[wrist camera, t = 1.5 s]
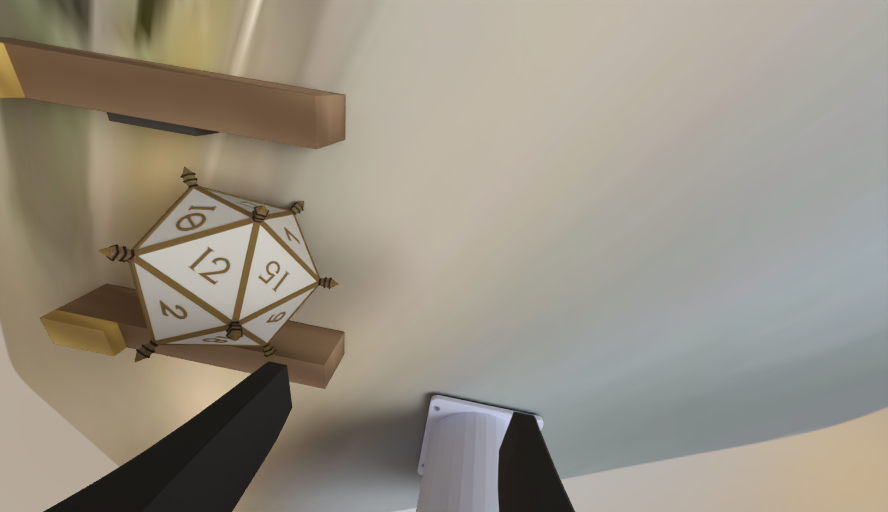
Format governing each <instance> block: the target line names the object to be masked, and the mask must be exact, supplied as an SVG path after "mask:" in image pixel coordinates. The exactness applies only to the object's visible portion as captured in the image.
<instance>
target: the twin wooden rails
mask: <svg viewBox="0 0 888 512" xmlns="http://www.w3.org/2000/svg"><path fill="white" fill-rule="evenodd" d="M0 98H31V99H37V100H42V101H48V102H53V103H59V104H65V105H70V106H76V107H82V108H87V109H93V110H99V111H104V112H107V114H108V118H109V121H114V122H120V123H125V124H131V125H137V126H142V127H148V128H154V129H159V130H165V131H170V132H176V133H182V134H187V135H193V136H200V135H207V134H213V133H219V132H223V133H229V134H234V135H240V136H246V137H251V138H257V139H262V140H268V141H274V142H279V143H285V144H291V145H296V146H302V147H308V148H313V149H319V148H322V147H324V146H327V145H330V144H333V143H336V142H339V141H342V140H345V95H344V94H338V93H332V92H326V91H320V90H314V89H308V88H302V87H296V86H290V85H284V84H278V83H272V82H267V81H261V80H255V79H249V78H243V77H237V76H231V75H225V74H219V73H213V72H207V71H201V70H195V69H189V68H184V67H178V66H172V65H166V64H160V63H154V62H148V61H142V60H136V59H130V58H124V57H118V56H112V55H106V54H101V53H95V52H89V51H83V50H77V49H71V48H65V47H59V46H53V45H47V44H41V43H35V42H29V41H23V40H18V39H12V38H4V37H0ZM40 319H41V321H42V323H43V325H44V327H45V329H46V330H47V332H48V334H49V336H50V338H51V340H52V342H53V343H54V344H59V345H64V346H68V347H73V348H78V349H82V350H87V351H92V352H96V353H101V354H106V355H111V356H115V355H117V354H118V353H119V352H121V351H122V350H124V349H125V348H127V347H128V348H133V349H138V350H139V349H140V348H141V347H142V346H141V345H145V344H147V343H149V342H150V340H151V339H150V336H149V332H148V329H147V325H146V322H145V318H144V315H143V311H142V307H141V304H140V300H139V297H138V293H137V290H133V289H128V288H123V287H118V286H113V285H109V284H106V285H104V286H102V287H100V288H98V289H96V290H94V291H92V292H90V293H88V294H86V295H84V296H82V297H80V298H78V299H76V300H74V301H72V302H70V303H68V304H66V305H64V306H62V307H60V308H58V309H56V310H54V311H52V312H50V313H48V314H46V315H44V316H42V317H40ZM270 345H271V346H274V348H273V349H274V350H276V351H275V353H274V358H273V360H271V359H270V358H268V357H265V356H264V355H265V354H264V352H263V346H186V345H158V346H157V347H156V349H155V352H154V353H157V354H162V355H166V356H171V357H176V358H181V359H185V360H190V361H195V362H200V363H204V364H209V365H214V366H219V367H223V368H228V369H233V370H238V371H242V372H247V373H253V372H255V371H256V370H257V369H259V368H260V367H261V366H262V365H264V364H265V363H267V362H268V361H270V362H275V363H280V364H284V365H287V368H288V376H289V381H290V382H295V383H299V384H304V385H309V386H314V387H318V388H323V389H325V388H326V386H327V385H328V383H329V381H330V379H331V377H332V375H333V374H334V372H335V370H336V368H337V366H338V365H339V363H340V361H341V359H342V357H343V356H344V332H341V331H336V330H331V329H326V328H321V327H316V326H311V325H306V324H301V323H296V322H292V321H288V322H287V323H286V324H285V325H284V326H283V327H282V329H281V330H280V331H279V332H278V333H277V334H276V336H275V337H274V338H273V339H272V340H271V341H270Z"/></svg>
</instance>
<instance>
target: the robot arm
mask: <svg viewBox="0 0 888 512" xmlns="http://www.w3.org/2000/svg"><path fill="white" fill-rule="evenodd" d="M436 406H437V407H436ZM291 409H292V401H291V393H290V385H289V376H288V368H287V365H284V364H280V363H275V362H270V361H268V362H267V363H265V364H264V365H262V366H261V367H260V368H259V369H257V370H256V371H255V372H253V373H252V374H251V375H249V376H248V377H247V378H246V379H244V380H243V381H242V382H240V383H239V384H238V385H236V386H235V387H234V388H232V389H231V390H230V391H229V392H227V393H226V394H225V395H223V396H222V397H221V398H219V399H218V400H217V401H215V402H214V403H212V404H211V405H210V406H208V407H207V408H206V409H204V410H203V411H202V412H200V413H199V414H197V415H196V416H195V417H193V418H192V419H191V420H189V421H188V422H186V423H185V424H184V425H182V426H181V427H179V428H178V429H176V430H175V431H173V432H172V433H170V434H169V435H168V436H166V437H165V438H163V439H162V440H160V441H159V442H157V443H156V444H154V445H153V446H151V447H150V448H148V449H147V450H145V451H144V452H142V453H141V454H139V455H138V456H136V457H135V458H133V459H131V460H130V461H128V462H127V463H125V464H124V465H122V466H120V467H119V468H117V469H116V470H114V471H112V472H111V473H109V474H107V475H106V476H104V477H102V478H101V479H99V480H98V481H96V482H94V483H93V484H91V485H89V486H87V487H86V488H84V489H82V490H80V491H79V492H77V493H75V494H74V495H72V496H70V497H69V498H67V499H65V500H63V501H61V502H60V503H58V504H56V505H55V506H53V507H51V508H49V509H47V510H46V511H44V512H232V511H233V509H234V508H235V506H236V504H237V503H238V501H239V500H240V498H241V496H242V495H243V493H244V492H245V490H246V488H247V487H248V485H249V484H250V482H251V480H252V479H253V477H254V476H255V474H256V472H257V471H258V469H259V468H260V466H261V464H262V463H263V461H264V460H265V458H266V456H267V455H268V453H269V451H270V450H271V448H272V447H273V445H274V443H275V442H276V440H277V438H278V436H279V434H280V432H281V430H282V428H283V426H284V424H285V422H286V419H287V417H288V415H289V413H290V411H291ZM542 427H543V420H542V418H541V417H540V416H537V415H532V414H527V413H522V412H517V411H513V410H508V409H503V408H498V407H493V406H489V405H484V404H479V403H474V402H469V401H465V400H460V399H455V398H450V397H445V396H441V395H434V396H432V397H431V401H430V406H429V411H428V417H427V422H426V428H425V433H424V438H423V444H422V449H421V454H420V460H419V465H418V474H419V475H421V476H422V481H421V486H420V492H419V498H418V503H417V509H416V512H575V511H574V509H573V507H572V504H571V502H570V500H569V498H568V495H567V493H566V491H565V489H564V487H563V484H562V482H561V480H560V478H559V475H558V473H557V471H556V468H555V466H554V464H553V461H552V459H551V456H550V454H549V451H548V449H547V446H546V444H545V441H544V439H543V436H542V433H541V429H542Z"/></svg>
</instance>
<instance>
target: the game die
mask: <svg viewBox="0 0 888 512" xmlns="http://www.w3.org/2000/svg"><path fill="white" fill-rule="evenodd" d="M180 177H182V178H183V179H184V181H183V182H184V183H186V184H187V185H188V186H189V188H188V189H187V190H186V192H185V193H184V194H183V195H182V196H181V197H180V198H179V199H178V200H177V201H176V202H175V203H174V204H173V205H172V207H171V208H170V209H169V210H168V211H167V212H166V213H165V214H164V215H163V216H162V217H161V218H160V219H159V220H158V222H157V223H156V224H155V225H154V226H153V227H152V228H151V229H150V230H149V231H148V232H147V233H146V234H145V235H144V237H143V238H142V239H141V240H140V241H139V242H138V243H137V244H136V245H135V246H134V247H133V248H132V249H131V250H129V249H126V247H125V246H123V247H118V245H113V246H110V247H109V248H105V249H101V250H98V251H100V252H101V253H103V254H104V255H106V257H107V258H109V259H110V260H111V261H114V260H119V261H121V262H125V261H127V262H129V265H130V268H131V272H132V276H133V279H134V283H135V286H136V290H137V293H138V297H139V300H140V304H141V307H142V311H143V315H144V318H145V322H146V325H147V329H148V332H149V336H150V339H151V340H150V342H149V343H147V344H145V345H141V346H142V347H141V348H140V349H139V350H138V349H137V350H136V351H137V354H136V358H135V362H137V361H139V360H142V359H145V358H149V357H150V355H151V354H152V353H154V352H155V349H156V347H157V346H158V345H186V346H263V352H264V354H265V355H264V356H265V357H268V358H270V359H271V360H273V358H274V353H275V351H276V350H274V349H273V348H274V346H271V345H270V341H271V340H272V339H273V338H274V337H275V336H276V334H277V333H278V332H279V331H280V330H281V329H282V327H283V326H284V325H285V324H286V323H287V322H288V320H289V319H290V318H291V317H292V316H293V315H294V313H295V312H296V311H297V310H298V309H299V308H300V306H301V305H302V304H303V303H304V302H305V301H306V299H307V298H308V297H309V296H310V295H311V294H312V292H313V291H314V290H315V289H316V288H317V287H318V286H319V285H321V286H323V287H324V288H325V287H327V288H329V289H330V288H331V287H333V286H336V285H338V283H336V282H335V281H334V280H333V279H332V278H331V277H330V278H327V277H325V278H323V279H321V278H320V277H319V275H318V272H317V269H316V267H315V264H314V262H313V259H312V257H311V254H310V252H309V249H308V247H307V244H306V242H305V239H304V237H303V234H302V232H301V229H300V227H299V224H298V222H297V219H296V217H295V215H296V214H297V213H300V211H302V210H303V206H304V202H299V203H297V202H296V203H294V204H295V205H293V206H292V208H291V210H287V209H283V208H279V207H276V206H272V205H268V204H264V203H261V202H257V201H253V200H249V199H246V198H242V197H238V196H234V195H231V194H227V193H223V192H220V191H216V190H212V189H208V188H205V187H201V186H198V185H197V178H195V173H193V172H191V171H190V170H189V169H187V168H186V167H185V166H184V170H183V173H182V176H180Z"/></svg>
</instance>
